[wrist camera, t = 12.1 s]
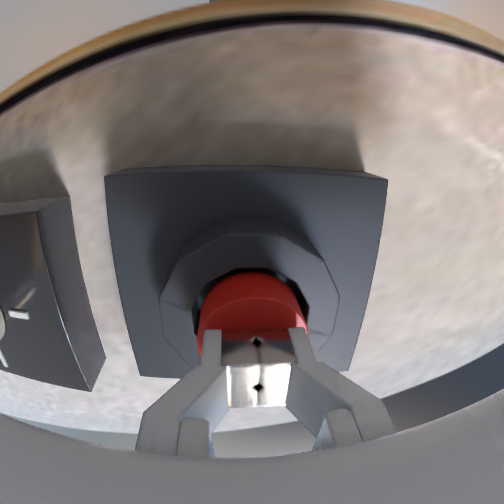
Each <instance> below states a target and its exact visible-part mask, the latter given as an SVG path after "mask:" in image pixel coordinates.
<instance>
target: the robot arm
mask: <svg viewBox="0 0 504 504" xmlns="http://www.w3.org/2000/svg"><path fill="white" fill-rule="evenodd" d="M285 405H286V406H285ZM260 406H285V407H286V408H287V409H288V410H289V411H290V412H291V413H292V414H293V415H294V416H295V417H296V418H297V419H298V420H299V421H300V422H301V423H302V424H303V425H304V426H305V427H306V428H307V429H308V430H309V431H310V432H311V433H312V434H313V435H314V436H315V437H316V438H317V439H316V442H315V444H314V447H313V449H312V451H310V452H302V453H294V454H284V455H272V456H258V457H214V451H213V444H212V438H211V434H212V432H213V431H214V429H215V428H216V427H217V425H218V424H219V422H220V421H221V420H222V418H223V417H224V415H225V414H226V413H227V411H228V410H229V408H241V407H260ZM0 504H504V389H502V390H501V391H499V392H497V393H495V394H493V395H491V396H489V397H487V398H485V399H483V400H481V401H479V402H477V403H475V404H472V405H470V406H468V407H466V408H463V409H461V410H459V411H457V412H454V413H452V414H449V415H447V416H444V417H442V418H439V419H436V420H434V421H431V422H428V423H425V424H423V425H420V426H417V427H414V428H410V429H407V430H404V431H401V432H398V433H397V431H396V429H395V427H394V425H393V422H392V420H391V418H390V416H389V414H388V412H387V410H386V408H385V406H384V404H383V402H382V400H381V399H379V398H377V397H376V396H374V395H373V394H371V393H369V392H368V391H366V390H365V389H363V388H362V387H360V386H359V385H357V384H355V383H354V382H352V381H351V380H349V379H348V378H346V377H345V376H343V375H342V374H340V373H339V372H337V371H336V370H334V369H333V368H331V367H330V366H328V365H327V364H325V363H324V362H322V361H318V362H317V360H316V357H315V355H314V352H313V349H312V346H311V344H310V341H309V338H308V336H307V333H306V330H305V328H304V327H294V328H287V329H265V330H237V329H222V330H221V329H205V331H204V335H203V345H202V355H201V366H195V367H194V368H193V369H191V370H190V371H189V372H188V373H187V374H186V375H185V376H184V377H183V378H182V379H180V380H179V381H178V382H177V383H176V384H175V385H174V386H173V387H172V388H171V389H169V390H168V391H167V392H166V393H165V394H164V395H163V396H162V397H160V398H159V399H158V400H157V401H156V402H155V403H154V404H152V405H151V406H150V407H149V408H148V409H147V410H146V411H144V412H143V416H142V420H141V424H140V429H139V433H138V438H137V443H136V447H135V451H133V450H127V449H121V448H115V447H110V446H105V445H100V444H96V443H91V442H87V441H83V440H79V439H75V438H71V437H67V436H64V435H61V434H57V433H54V432H51V431H48V430H45V429H41V428H39V427H35V426H33V425H30V424H27V423H25V422H22V421H19V420H17V419H14V418H12V417H9V416H7V415H5V414H2V413H0Z"/></svg>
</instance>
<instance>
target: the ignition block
mask: <svg viewBox="0 0 504 504" xmlns="http://www.w3.org/2000/svg"><path fill="white" fill-rule="evenodd" d="M104 180H105V193H106V204H107V214H108V223H109V231H110V239H111V246H112V253H113V259H114V265H115V271H116V277H117V282H118V287H119V293H120V297H121V302H122V307H123V311H124V316H125V320H126V324H127V329H128V333H129V337H130V341H131V344H132V348H133V352H134V355H135V359H136V363H137V366H138V369H139V373H140V376H147V377H161V378H179V379H182V378H183V377H184V376H185V375H186V374H187V373H188V372H189V371H190V370H191V369H193V368H194V367H195V366H201V356H200V354H199V351H198V347H197V335H198V328H199V320H200V313H201V307H202V303H203V300H204V298H205V296H206V295H207V293H208V292H209V290H210V289H211V288H212V287H213V286H214V285H215V284H217V283H218V282H219V281H221V280H223V279H224V278H226V277H229V276H231V275H234V274H237V273H243V272H261V273H266V274H269V275H272V276H274V277H277V278H278V279H280V280H282V281H283V282H284V283H286V284H287V285H288V286H289V287H290V288H291V290H292V291H293V293H294V294H295V297H296V299H297V301H298V304H299V306H300V309H301V312H302V314H303V317H304V319H305V322H306V324H307V328H308V334H309V341H310V344H311V346H312V349H313V352H314V355H315V357H316V360H317V362H318V361H322V362H324V363H325V364H327V365H328V366H330V367H331V368H333V369H334V370H336V371H337V372H343V371H348V370H349V367H350V364H351V360H352V357H353V354H354V350H355V347H356V344H357V340H358V336H359V333H360V329H361V325H362V322H363V318H364V314H365V310H366V306H367V301H368V297H369V293H370V288H371V284H372V279H373V274H374V270H375V265H376V259H377V254H378V249H379V243H380V237H381V231H382V225H383V218H384V211H385V204H386V196H387V187H388V180H387V179H385V178H382V177H379V176H376V175H373V174H370V173H366V172H359V171H348V170H336V169H323V168H308V167H289V166H259V165H195V166H166V167H147V168H132V169H123V170H120V171H117V172H114V173H111V174H109V175H106V176H105V177H104Z"/></svg>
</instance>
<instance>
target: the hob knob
mask: <svg viewBox="0 0 504 504" xmlns="http://www.w3.org/2000/svg"><path fill="white" fill-rule="evenodd" d="M4 334H5V321H4V317H3V314H2V311H1V309H0V340H1V339H2V338H3V336H4Z"/></svg>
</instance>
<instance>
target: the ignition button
mask: <svg viewBox="0 0 504 504" xmlns="http://www.w3.org/2000/svg"><path fill="white" fill-rule="evenodd" d="M294 327H304V328H305V330H306V333H307V336H308V338H309V334H308V328H307V324H306V322H305V319H304V317H303V314H302V312H301V309H300V306H299V304H298V301H297V299H296V297H295V294H294V293H293V291H292V290H291V288H290V287H289V286H288V285H287V284H286V283H284V282H283V281H282V280H280V279H278V278H277V277H274V276H272V275H269V274H266V273H261V272H243V273H237V274H234V275H231V276H229V277H226V278H224V279H223V280H221V281H219V282H218V283H217V284H215V285H214V286H213V287H212V288H211V289H210V290H209V292H208V293H207V295H206V296H205V298H204V300H203V303H202V307H201V313H200V320H199V328H198V335H197V347H198V351H199V354H200V356H201V355H202V345H203V335H204V331H205V329H221V330H222V329H237V330H265V329H287V328H294Z"/></svg>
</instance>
